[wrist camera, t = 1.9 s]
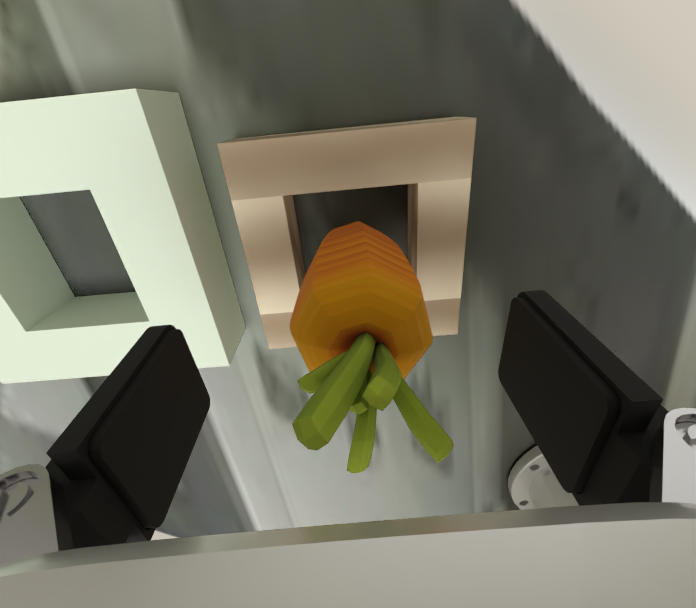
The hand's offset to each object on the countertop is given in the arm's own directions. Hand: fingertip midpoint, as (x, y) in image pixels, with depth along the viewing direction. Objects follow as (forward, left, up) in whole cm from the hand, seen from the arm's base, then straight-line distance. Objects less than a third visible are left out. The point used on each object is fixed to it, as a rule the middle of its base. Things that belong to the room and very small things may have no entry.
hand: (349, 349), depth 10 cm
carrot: (-1, 0, -12) cm, 12 cm away
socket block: (-1, 0, -12) cm, 12 cm away
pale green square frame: (0, +15, -12) cm, 19 cm away
